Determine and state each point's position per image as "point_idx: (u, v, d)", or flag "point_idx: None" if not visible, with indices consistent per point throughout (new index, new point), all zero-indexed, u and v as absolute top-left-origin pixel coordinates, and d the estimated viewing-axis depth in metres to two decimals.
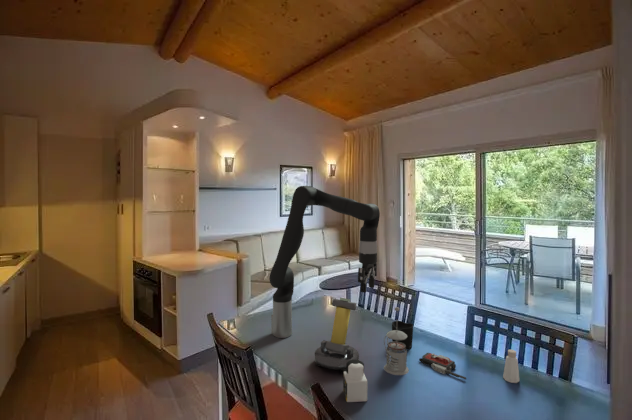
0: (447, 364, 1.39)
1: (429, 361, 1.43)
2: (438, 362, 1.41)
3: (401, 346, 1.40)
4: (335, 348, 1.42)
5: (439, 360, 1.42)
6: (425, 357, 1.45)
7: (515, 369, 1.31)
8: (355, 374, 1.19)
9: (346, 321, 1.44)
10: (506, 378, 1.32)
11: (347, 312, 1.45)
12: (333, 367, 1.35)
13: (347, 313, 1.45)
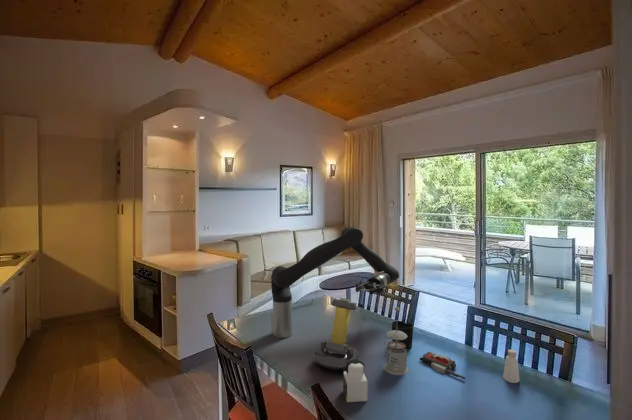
0: (447, 364, 1.39)
1: (429, 360, 1.44)
2: (438, 361, 1.41)
3: (401, 346, 1.40)
4: (335, 348, 1.42)
5: (439, 359, 1.43)
6: (425, 356, 1.46)
7: (515, 369, 1.31)
8: (355, 374, 1.19)
9: (346, 321, 1.44)
10: (506, 378, 1.32)
11: (347, 312, 1.45)
12: (333, 367, 1.35)
13: (347, 313, 1.45)
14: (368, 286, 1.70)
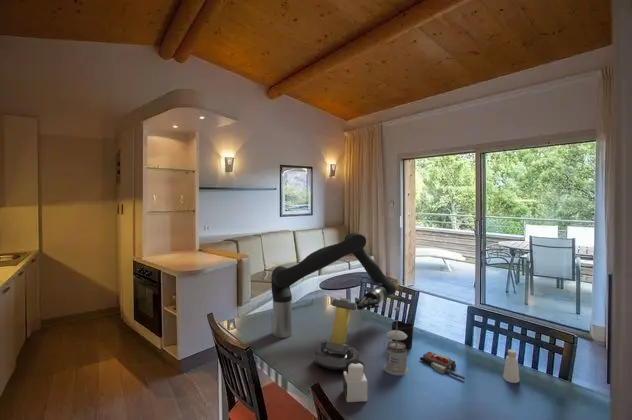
0: (447, 363, 1.40)
1: (429, 360, 1.44)
2: (438, 361, 1.42)
3: (401, 346, 1.40)
4: (335, 348, 1.42)
5: (439, 359, 1.43)
6: (426, 356, 1.46)
7: (515, 369, 1.31)
8: (355, 374, 1.19)
9: (346, 321, 1.44)
10: (506, 378, 1.32)
11: (347, 312, 1.45)
12: (333, 367, 1.35)
13: (347, 313, 1.45)
14: None
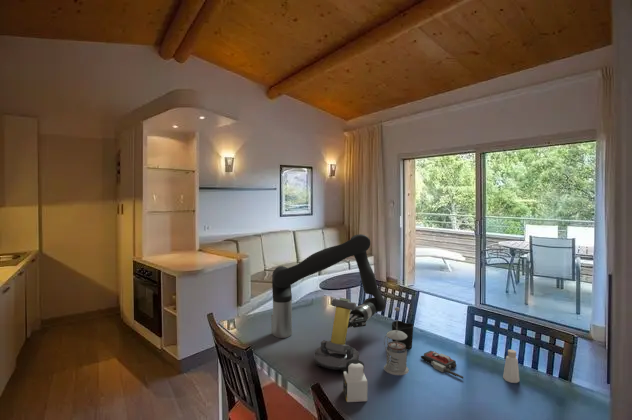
0: (447, 363, 1.40)
1: (430, 359, 1.45)
2: (438, 360, 1.42)
3: (401, 346, 1.40)
4: (335, 348, 1.42)
5: (439, 358, 1.44)
6: (426, 355, 1.47)
7: (515, 369, 1.31)
8: (355, 374, 1.19)
9: (346, 321, 1.44)
10: (506, 378, 1.32)
11: (347, 312, 1.45)
12: (333, 367, 1.35)
13: (347, 313, 1.45)
14: None
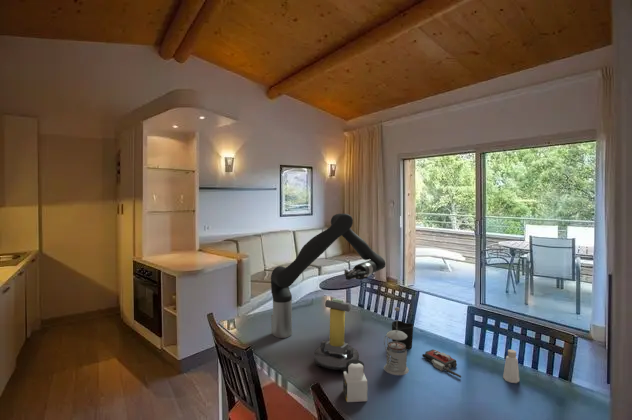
0: (446, 361, 1.41)
1: (430, 357, 1.46)
2: (438, 359, 1.44)
3: (401, 346, 1.40)
4: (335, 350, 1.42)
5: (440, 357, 1.45)
6: (427, 353, 1.49)
7: (515, 369, 1.31)
8: (355, 374, 1.19)
9: (342, 323, 1.41)
10: (506, 378, 1.32)
11: (342, 314, 1.41)
12: (333, 367, 1.35)
13: (342, 315, 1.41)
14: (356, 273, 1.72)
